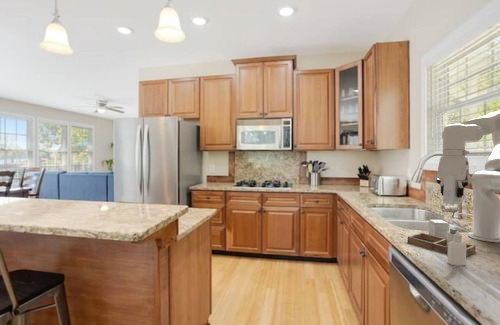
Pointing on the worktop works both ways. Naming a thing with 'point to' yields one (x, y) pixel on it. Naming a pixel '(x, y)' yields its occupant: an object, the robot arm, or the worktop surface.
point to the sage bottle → (450, 235)
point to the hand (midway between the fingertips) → (451, 195)
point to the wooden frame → (435, 243)
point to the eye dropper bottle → (456, 251)
